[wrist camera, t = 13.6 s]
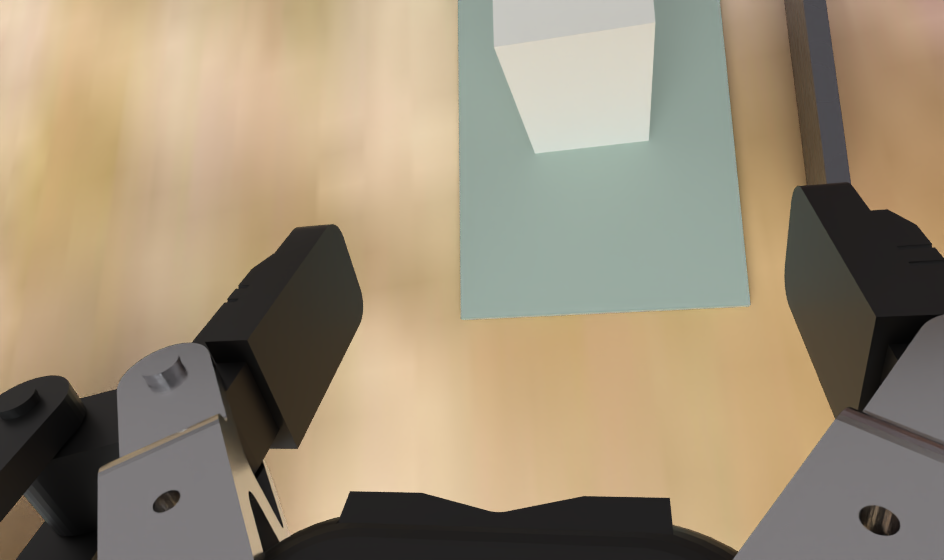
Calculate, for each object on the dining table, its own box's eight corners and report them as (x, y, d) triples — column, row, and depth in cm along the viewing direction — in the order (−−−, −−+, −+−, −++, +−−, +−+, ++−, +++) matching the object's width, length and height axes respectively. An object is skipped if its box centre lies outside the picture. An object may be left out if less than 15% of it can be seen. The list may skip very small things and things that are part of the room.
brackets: (1002, -88, 27) (1037, -137, 24) (1058, 186, 24) (1104, 162, 22) (777, -51, 29) (791, -93, 26) (809, 206, 26) (827, 186, 24)
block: (640, 37, 29) (643, -119, 20) (648, 140, 28) (655, 22, 19) (530, 53, 30) (490, -88, 22) (534, 153, 29) (493, 46, 21)
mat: (706, -115, 30) (707, -122, 30) (748, 306, 26) (750, 304, 26) (459, -68, 33) (457, -73, 33) (463, 319, 29) (460, 318, 28)
